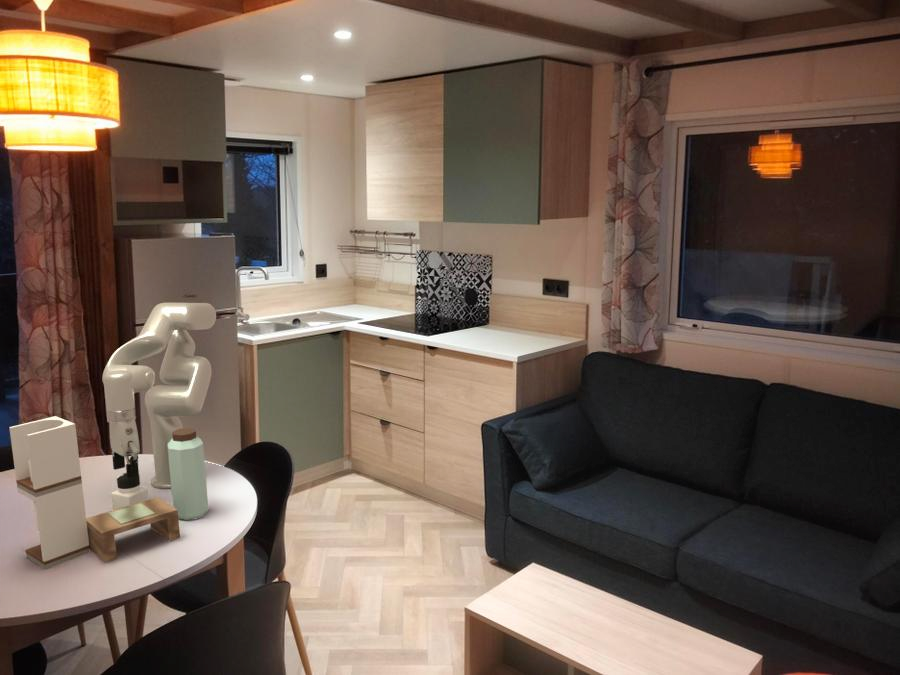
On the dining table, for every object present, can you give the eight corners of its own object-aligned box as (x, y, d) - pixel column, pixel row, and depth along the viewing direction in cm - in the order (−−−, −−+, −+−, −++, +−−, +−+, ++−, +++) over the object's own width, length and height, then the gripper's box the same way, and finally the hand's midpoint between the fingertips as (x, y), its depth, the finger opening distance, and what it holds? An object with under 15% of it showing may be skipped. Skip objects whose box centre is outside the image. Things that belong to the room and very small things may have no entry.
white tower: (70, 541, 214) (55, 416, 207) (89, 552, 207) (75, 423, 200) (26, 557, 205) (9, 427, 198) (45, 569, 199) (28, 435, 192)
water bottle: (216, 513, 230) (209, 430, 225) (184, 524, 223) (176, 439, 218) (198, 504, 237) (191, 423, 232) (166, 514, 230) (158, 432, 224)
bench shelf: (161, 523, 224) (158, 496, 222) (180, 537, 215) (177, 508, 214) (87, 547, 210) (84, 517, 209) (104, 562, 202) (101, 532, 200)
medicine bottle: (150, 510, 233) (146, 471, 230) (131, 520, 226) (127, 480, 224) (132, 506, 236) (128, 468, 233) (112, 516, 229) (108, 476, 227)
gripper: (147, 417, 221) (151, 476, 224) (122, 406, 233) (127, 462, 236) (119, 423, 216) (124, 483, 219) (96, 411, 228) (101, 468, 231)
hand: (126, 472), depth 228 cm, fingers open, 9 cm apart
